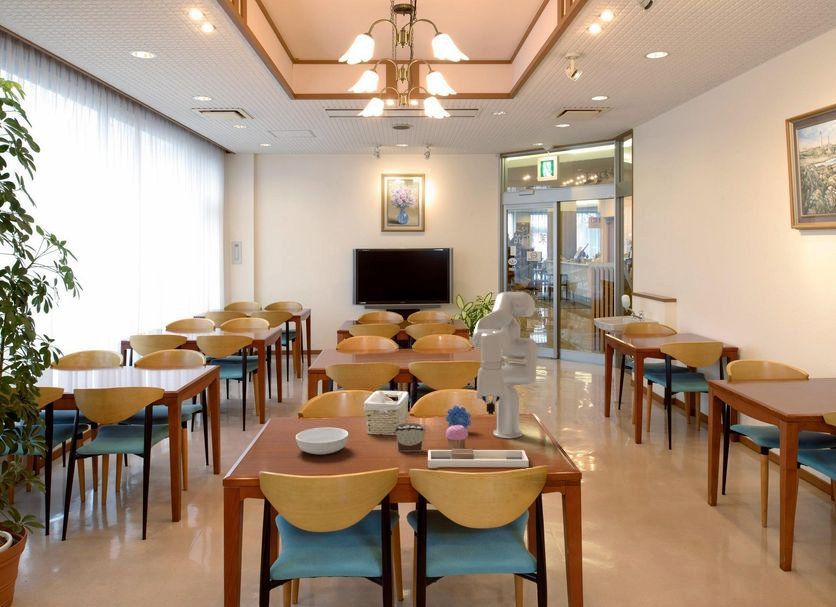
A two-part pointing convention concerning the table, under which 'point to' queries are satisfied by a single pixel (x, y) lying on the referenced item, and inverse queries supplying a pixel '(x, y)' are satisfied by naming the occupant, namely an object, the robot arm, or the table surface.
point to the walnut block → (462, 454)
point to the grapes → (458, 417)
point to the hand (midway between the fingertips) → (490, 413)
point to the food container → (409, 436)
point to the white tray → (479, 459)
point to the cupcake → (456, 436)
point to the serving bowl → (322, 440)
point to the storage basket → (385, 412)
